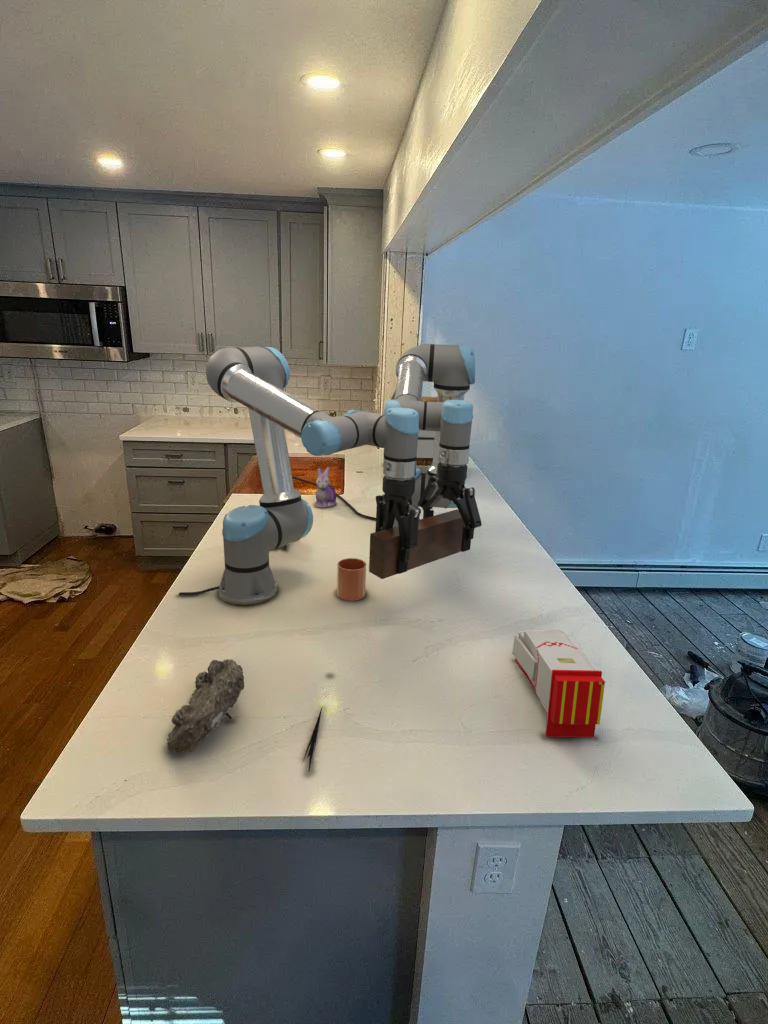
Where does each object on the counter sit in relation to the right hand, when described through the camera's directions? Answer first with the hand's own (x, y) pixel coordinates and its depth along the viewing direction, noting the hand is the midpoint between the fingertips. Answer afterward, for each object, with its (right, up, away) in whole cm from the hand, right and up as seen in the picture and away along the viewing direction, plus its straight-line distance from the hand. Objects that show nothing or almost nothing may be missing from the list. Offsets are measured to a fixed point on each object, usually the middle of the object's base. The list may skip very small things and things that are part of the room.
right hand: (445, 541), depth 149 cm
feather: (-29, -32, -40) cm, 59 cm away
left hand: (-14, -6, -10) cm, 18 cm away
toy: (+18, -30, -29) cm, 46 cm away
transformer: (+1, +27, +126) cm, 129 cm away
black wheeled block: (-50, -2, +39) cm, 63 cm away
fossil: (-49, -31, -41) cm, 71 cm away
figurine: (-40, +11, +77) cm, 87 cm away
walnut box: (-7, -4, -5) cm, 9 cm away
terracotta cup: (-25, -15, +8) cm, 30 cm away
